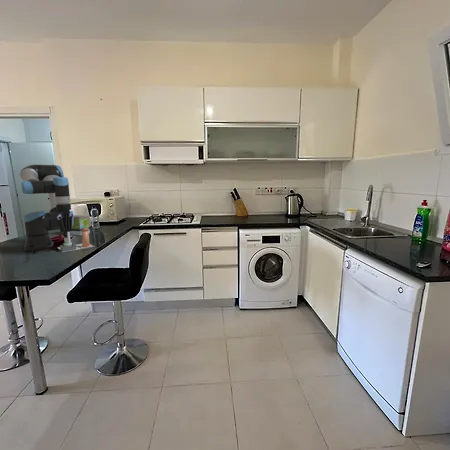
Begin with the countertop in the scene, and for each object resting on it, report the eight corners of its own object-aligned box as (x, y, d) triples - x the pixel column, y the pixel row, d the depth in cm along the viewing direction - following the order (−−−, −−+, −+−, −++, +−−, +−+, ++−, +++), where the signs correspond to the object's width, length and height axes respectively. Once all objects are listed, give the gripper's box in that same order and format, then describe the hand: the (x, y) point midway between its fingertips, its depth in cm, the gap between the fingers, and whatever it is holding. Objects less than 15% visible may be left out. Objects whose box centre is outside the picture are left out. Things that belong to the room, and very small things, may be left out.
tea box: (90, 233, 215) (88, 215, 212) (80, 235, 205) (78, 216, 203) (75, 232, 219) (73, 214, 216) (65, 234, 209) (63, 216, 207)
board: (62, 253, 157) (62, 251, 157) (57, 249, 167) (57, 247, 167) (94, 248, 169) (94, 246, 169) (88, 244, 179) (88, 242, 179)
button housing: (63, 251, 157) (62, 247, 157) (60, 249, 162) (60, 245, 162) (76, 249, 162) (75, 245, 162) (73, 247, 167) (72, 243, 167)
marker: (83, 247, 166) (81, 229, 164) (81, 246, 169) (79, 228, 167) (90, 246, 169) (89, 228, 167) (88, 245, 172) (87, 227, 170)
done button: (64, 248, 159) (64, 244, 158) (63, 246, 162) (62, 242, 162) (73, 247, 162) (72, 242, 161) (71, 245, 165) (70, 241, 165)
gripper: (62, 204, 151) (66, 245, 155) (76, 202, 164) (79, 240, 168) (49, 204, 151) (54, 245, 155) (64, 202, 164) (68, 240, 168)
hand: (67, 242), depth 161 cm, fingers closed
